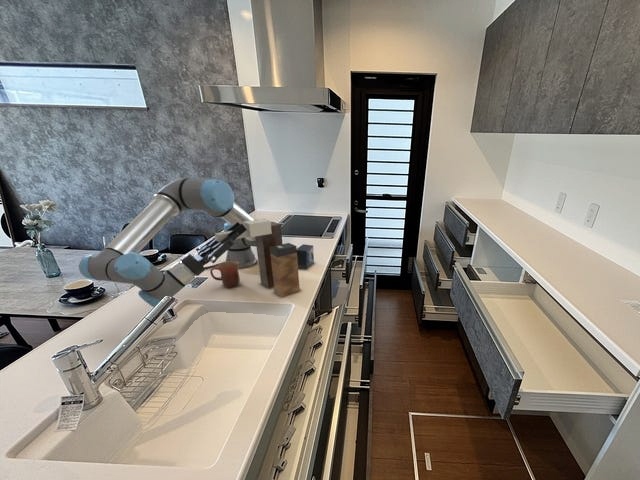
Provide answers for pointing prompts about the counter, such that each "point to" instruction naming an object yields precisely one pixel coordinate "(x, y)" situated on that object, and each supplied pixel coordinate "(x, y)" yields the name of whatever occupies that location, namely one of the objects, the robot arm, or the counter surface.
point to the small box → (305, 256)
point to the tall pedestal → (267, 253)
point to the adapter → (283, 249)
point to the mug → (228, 273)
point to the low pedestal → (285, 274)
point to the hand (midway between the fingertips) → (242, 226)
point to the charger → (250, 229)
